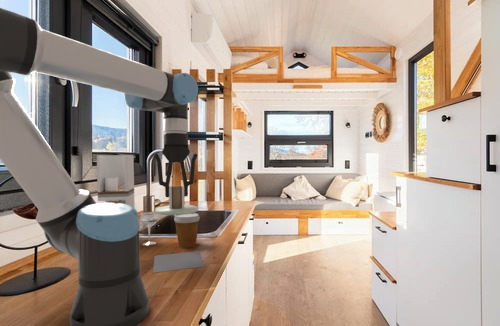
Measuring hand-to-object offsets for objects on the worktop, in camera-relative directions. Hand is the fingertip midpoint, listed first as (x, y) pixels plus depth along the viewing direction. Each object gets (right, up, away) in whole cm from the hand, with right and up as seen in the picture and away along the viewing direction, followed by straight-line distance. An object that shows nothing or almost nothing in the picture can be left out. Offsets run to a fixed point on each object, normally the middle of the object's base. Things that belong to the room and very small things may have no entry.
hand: (176, 207), depth 91 cm
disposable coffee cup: (0, -18, +17) cm, 25 cm away
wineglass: (-16, -18, +21) cm, 32 cm away
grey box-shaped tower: (-29, -18, +23) cm, 41 cm away
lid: (0, -1, 0) cm, 1 cm away
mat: (0, -18, +1) cm, 18 cm away
